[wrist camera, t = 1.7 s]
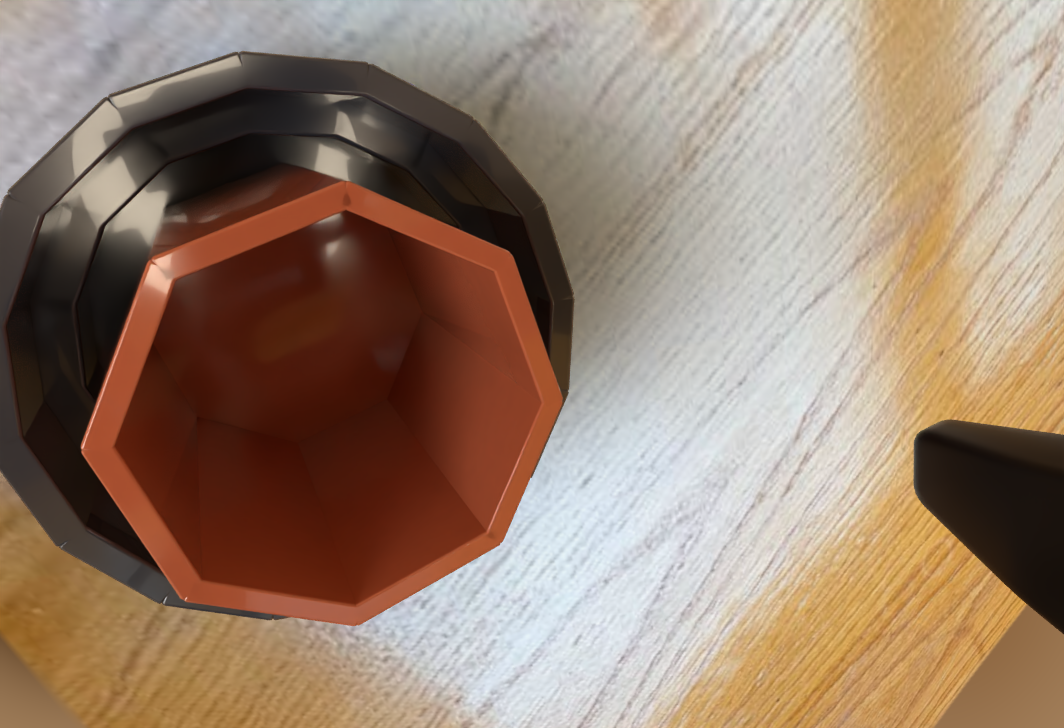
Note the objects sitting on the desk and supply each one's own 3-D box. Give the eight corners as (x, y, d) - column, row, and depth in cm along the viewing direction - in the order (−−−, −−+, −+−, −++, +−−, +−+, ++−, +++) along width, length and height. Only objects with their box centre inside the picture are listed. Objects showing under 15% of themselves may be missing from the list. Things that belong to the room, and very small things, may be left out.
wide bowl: (180, 586, 20) (179, 713, 16) (-93, 180, 15) (-204, 199, 11) (543, 397, 23) (628, 460, 18) (403, 10, 18) (472, -29, 14)
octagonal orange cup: (222, 488, 19) (243, 692, 12) (73, 241, 16) (-10, 321, 9) (459, 371, 21) (596, 491, 14) (360, 131, 18) (470, 129, 11)
